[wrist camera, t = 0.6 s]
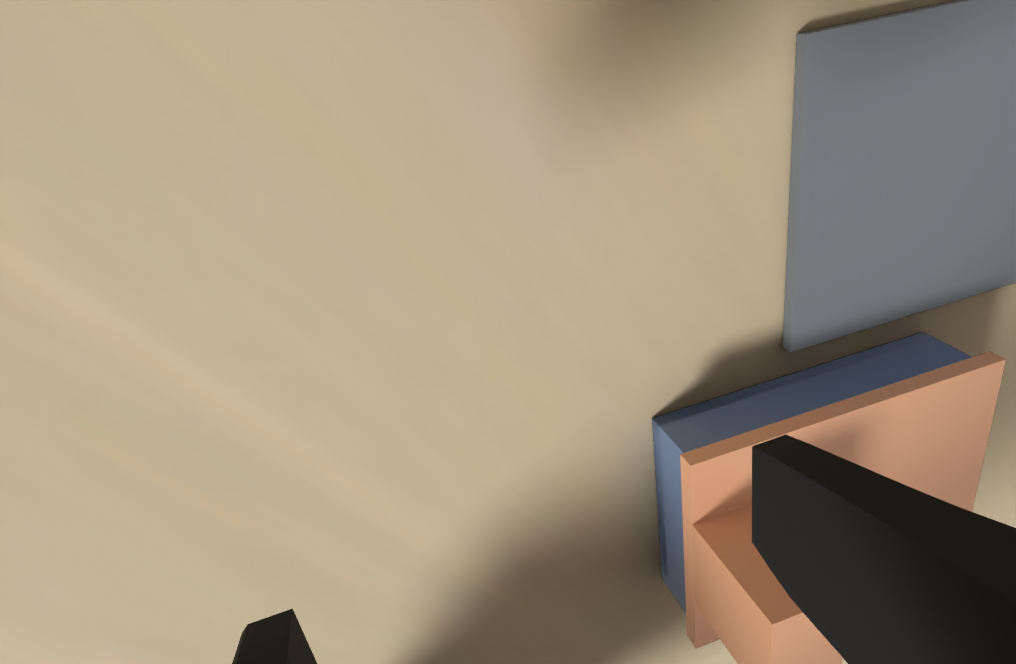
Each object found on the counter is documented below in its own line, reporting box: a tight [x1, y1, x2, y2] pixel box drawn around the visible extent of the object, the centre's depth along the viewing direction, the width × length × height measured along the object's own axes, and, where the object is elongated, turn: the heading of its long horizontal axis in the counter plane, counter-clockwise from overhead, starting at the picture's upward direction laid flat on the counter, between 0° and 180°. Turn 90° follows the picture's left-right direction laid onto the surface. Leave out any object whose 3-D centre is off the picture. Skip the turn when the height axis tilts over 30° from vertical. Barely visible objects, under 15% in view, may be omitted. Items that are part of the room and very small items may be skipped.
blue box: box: [652, 332, 971, 613], centre depth 25 cm, size 8×11×2 cm
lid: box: [680, 351, 1006, 664], centre depth 22 cm, size 8×12×6 cm
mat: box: [783, 0, 1016, 353], centre depth 22 cm, size 10×13×1 cm
